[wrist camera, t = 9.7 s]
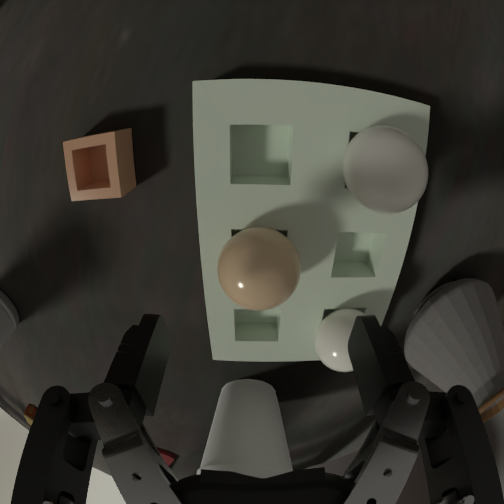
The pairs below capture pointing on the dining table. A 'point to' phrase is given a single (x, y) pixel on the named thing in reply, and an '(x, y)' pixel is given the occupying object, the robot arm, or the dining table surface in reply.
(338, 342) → the white egg
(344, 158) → the white egg
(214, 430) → the foam cup
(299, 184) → the egg tray
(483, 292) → the coffee pot
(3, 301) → the travel mug
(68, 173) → the egg cup
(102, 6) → the dining table surface
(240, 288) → the brown egg
